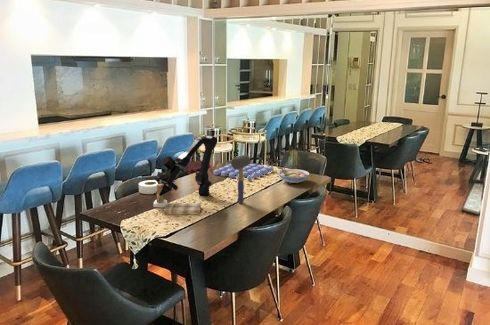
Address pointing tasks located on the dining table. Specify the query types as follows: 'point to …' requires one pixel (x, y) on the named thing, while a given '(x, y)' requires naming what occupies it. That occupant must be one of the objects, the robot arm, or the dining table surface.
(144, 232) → the dining table surface
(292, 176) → the ramen bowl
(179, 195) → the dining table surface
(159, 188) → the awl
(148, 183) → the roll of tape
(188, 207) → the beige flat rectangular piece
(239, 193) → the rubber mallet
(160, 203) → the awl holder
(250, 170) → the purple egg tray
